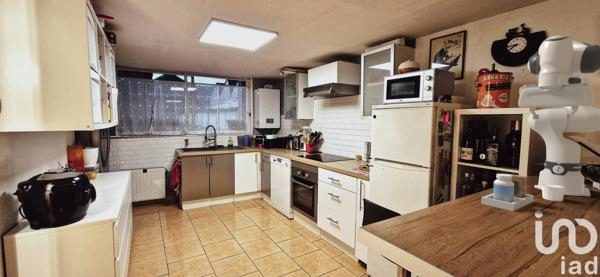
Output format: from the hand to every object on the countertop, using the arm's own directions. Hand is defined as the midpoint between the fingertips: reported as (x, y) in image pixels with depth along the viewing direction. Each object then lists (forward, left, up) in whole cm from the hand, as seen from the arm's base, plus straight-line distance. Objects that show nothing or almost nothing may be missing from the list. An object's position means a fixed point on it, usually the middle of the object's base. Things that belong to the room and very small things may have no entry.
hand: (552, 119), depth 97 cm
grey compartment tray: (+11, -9, -34) cm, 37 cm away
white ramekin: (-10, -1, -34) cm, 36 cm away
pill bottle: (+16, -9, -32) cm, 37 cm away
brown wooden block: (+6, -9, -32) cm, 34 cm away
